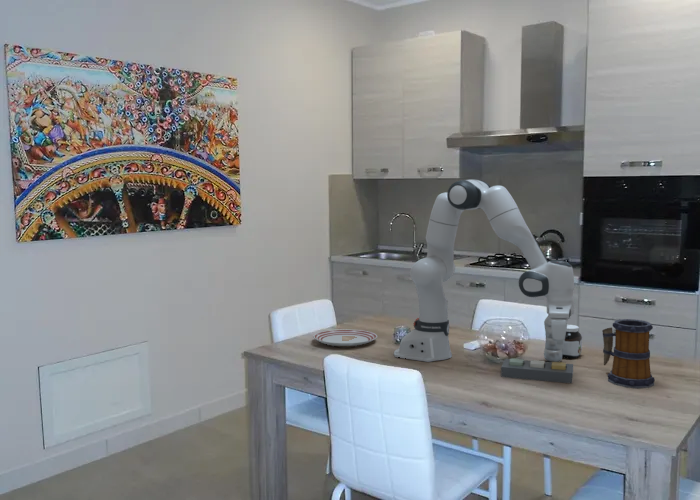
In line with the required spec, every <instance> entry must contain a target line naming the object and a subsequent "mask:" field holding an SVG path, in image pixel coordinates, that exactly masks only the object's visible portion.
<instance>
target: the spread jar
mask: <svg viewBox="0 0 700 500" xmlns="http://www.w3.org/2000/svg"><path fill="white" fill-rule="evenodd" d="M579 330H580V327H579V326H578V325H574V324H567V330H566V335H565V341H563V349H562V354H563V357H562V359H569V360H572V359H573V360H574V359H578V358H579V357H580V356H581V354H582V352H583V351H582V350H583V336H582V334H581V332H580V331H579Z"/></svg>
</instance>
